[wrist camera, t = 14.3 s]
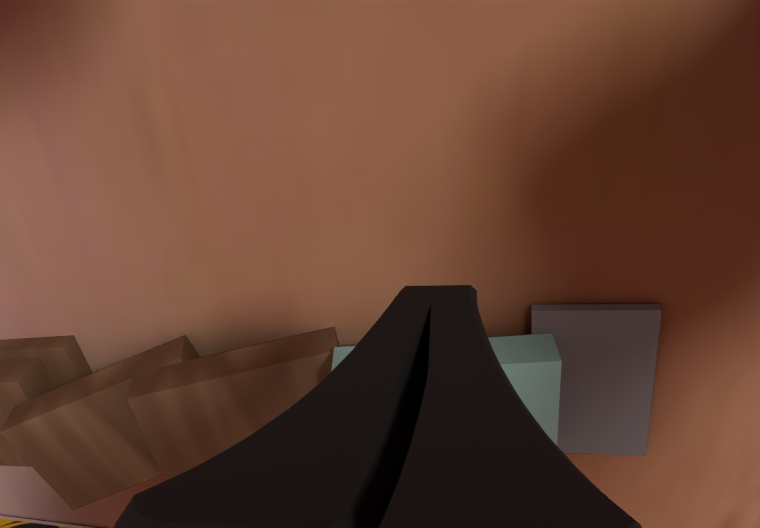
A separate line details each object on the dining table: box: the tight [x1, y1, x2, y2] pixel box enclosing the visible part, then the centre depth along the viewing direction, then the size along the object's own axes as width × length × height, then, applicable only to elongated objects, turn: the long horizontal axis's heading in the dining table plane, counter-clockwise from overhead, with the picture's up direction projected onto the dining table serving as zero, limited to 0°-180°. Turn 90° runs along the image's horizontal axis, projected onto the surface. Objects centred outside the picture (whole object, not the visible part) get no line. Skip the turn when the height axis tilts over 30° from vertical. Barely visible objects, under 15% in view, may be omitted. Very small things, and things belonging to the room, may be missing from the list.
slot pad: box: [531, 304, 662, 456], centre depth 25 cm, size 4×7×1 cm, turn 6°
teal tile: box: [331, 333, 562, 445], centre depth 25 cm, size 2×5×8 cm
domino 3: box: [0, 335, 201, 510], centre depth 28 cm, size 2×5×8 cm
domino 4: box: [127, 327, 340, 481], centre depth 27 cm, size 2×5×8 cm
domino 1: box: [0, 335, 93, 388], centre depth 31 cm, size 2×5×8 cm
